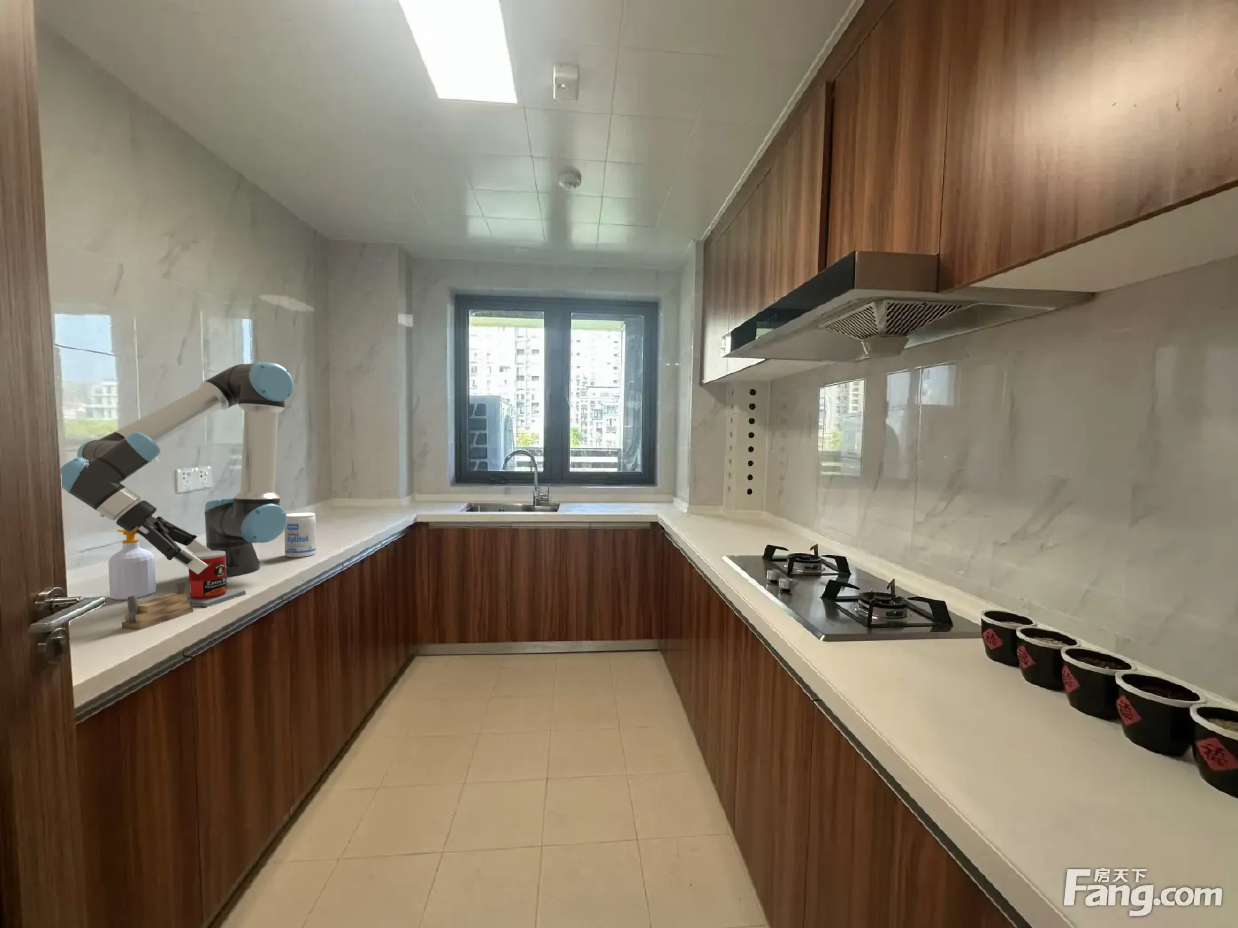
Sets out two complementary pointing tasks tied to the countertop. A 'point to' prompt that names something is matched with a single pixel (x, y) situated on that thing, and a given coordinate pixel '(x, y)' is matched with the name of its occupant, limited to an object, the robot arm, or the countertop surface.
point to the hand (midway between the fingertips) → (208, 564)
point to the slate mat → (216, 598)
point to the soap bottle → (131, 570)
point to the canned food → (209, 576)
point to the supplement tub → (300, 535)
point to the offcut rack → (157, 609)
